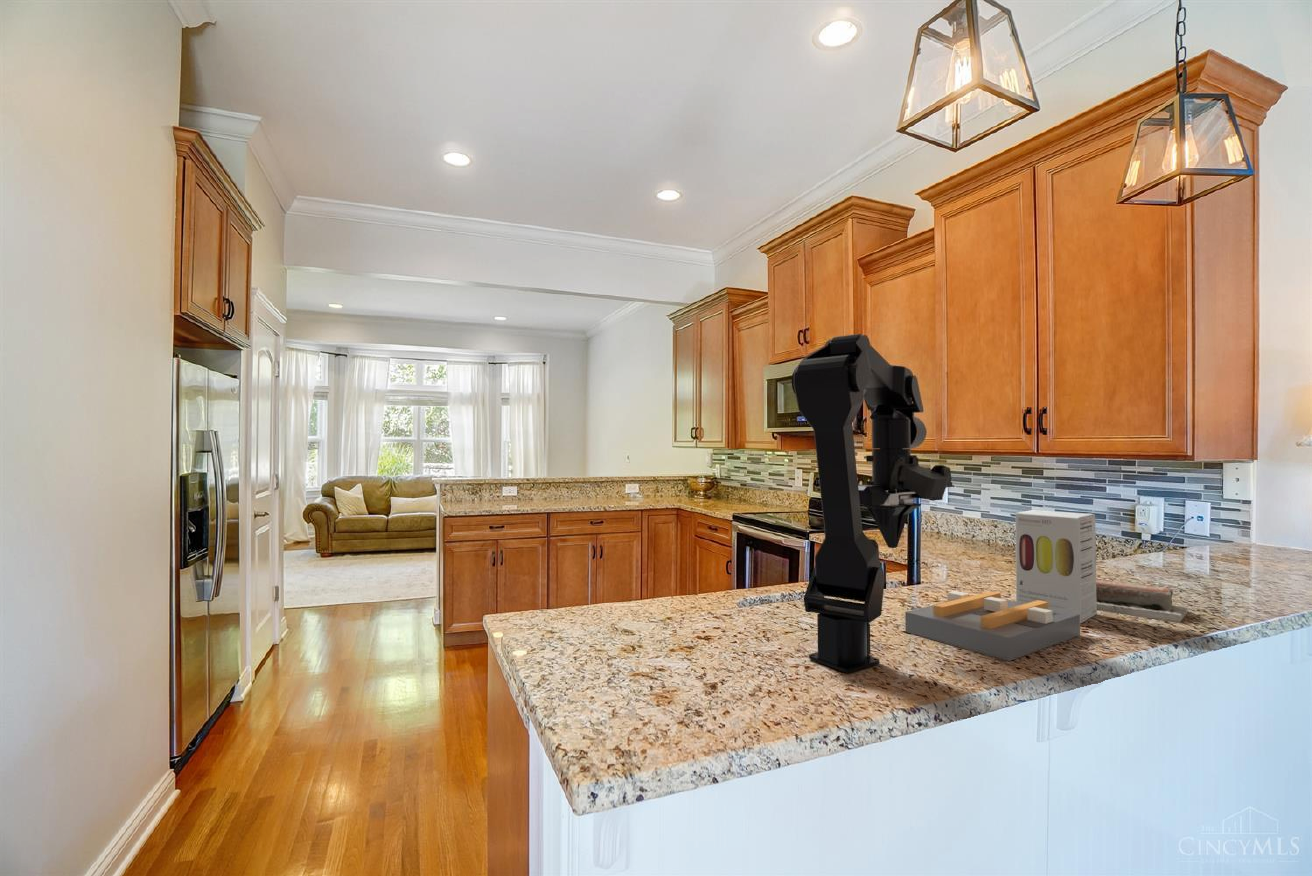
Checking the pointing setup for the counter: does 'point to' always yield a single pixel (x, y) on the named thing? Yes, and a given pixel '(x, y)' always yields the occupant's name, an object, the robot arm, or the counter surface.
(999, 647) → the breaker panel
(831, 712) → the counter surface
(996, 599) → the block
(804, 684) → the counter surface
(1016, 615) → the orange bar
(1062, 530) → the supplement box
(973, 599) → the orange wooden bar
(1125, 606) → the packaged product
